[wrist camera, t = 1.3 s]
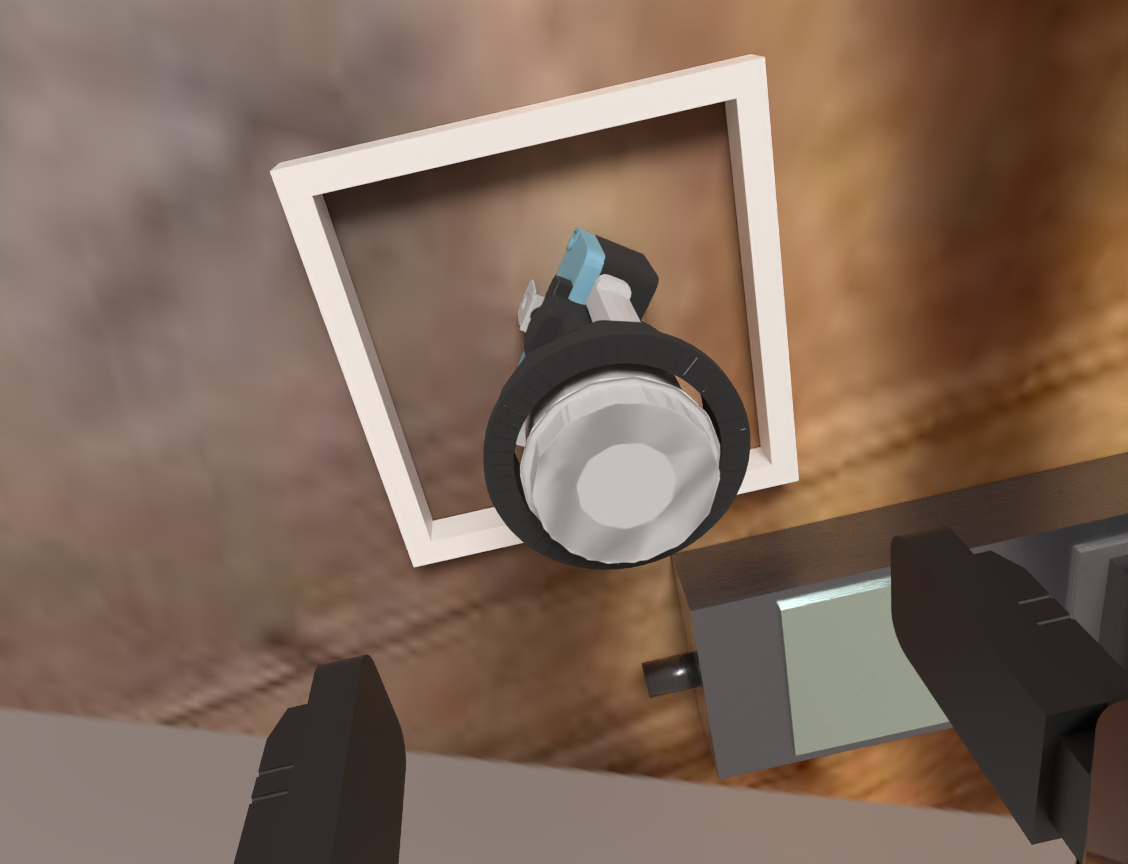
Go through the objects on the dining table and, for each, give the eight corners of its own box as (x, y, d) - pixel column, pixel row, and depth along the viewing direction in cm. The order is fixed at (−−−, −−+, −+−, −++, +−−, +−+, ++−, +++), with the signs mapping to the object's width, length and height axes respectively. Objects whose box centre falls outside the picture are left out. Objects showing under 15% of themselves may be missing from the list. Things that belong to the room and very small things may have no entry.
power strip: (1380, 395, 29) (1685, 530, 21) (1326, 576, 32) (1570, 742, 25) (620, 566, 29) (669, 756, 22) (654, 725, 33) (705, 933, 25)
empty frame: (750, 53, 22) (764, 57, 21) (786, 461, 28) (799, 480, 27) (279, 162, 22) (269, 171, 21) (415, 545, 28) (413, 567, 27)
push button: (598, 449, 27) (659, 672, 18) (439, 396, 25) (421, 610, 17) (691, 259, 24) (817, 411, 15) (521, 189, 23) (551, 312, 14)
